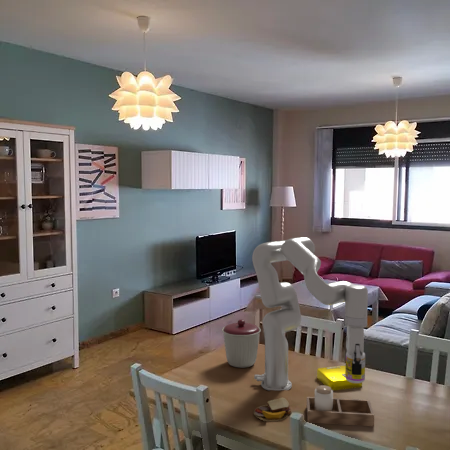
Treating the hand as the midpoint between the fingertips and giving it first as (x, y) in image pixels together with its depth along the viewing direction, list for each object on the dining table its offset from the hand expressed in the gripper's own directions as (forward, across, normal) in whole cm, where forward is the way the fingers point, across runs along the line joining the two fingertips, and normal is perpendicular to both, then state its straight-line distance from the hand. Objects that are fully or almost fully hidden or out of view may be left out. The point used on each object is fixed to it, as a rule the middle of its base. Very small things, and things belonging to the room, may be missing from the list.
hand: (355, 369), depth 170 cm
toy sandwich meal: (+19, 0, -29) cm, 35 cm away
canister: (+18, -48, -45) cm, 69 cm away
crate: (+18, 0, -5) cm, 19 cm away
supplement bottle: (+4, 0, 0) cm, 4 cm away
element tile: (+19, -33, -2) cm, 38 cm away
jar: (+17, 0, -11) cm, 20 cm away
